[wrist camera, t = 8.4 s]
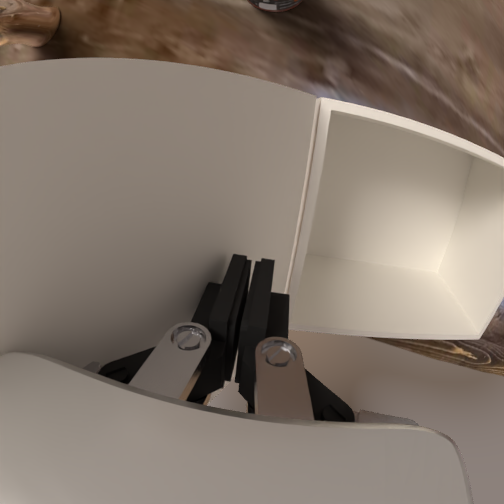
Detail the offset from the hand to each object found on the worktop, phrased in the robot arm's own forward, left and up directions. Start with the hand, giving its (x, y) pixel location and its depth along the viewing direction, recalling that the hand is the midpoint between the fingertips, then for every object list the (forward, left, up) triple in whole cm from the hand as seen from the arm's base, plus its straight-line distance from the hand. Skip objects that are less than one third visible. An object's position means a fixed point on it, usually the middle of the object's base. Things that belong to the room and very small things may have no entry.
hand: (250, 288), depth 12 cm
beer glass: (+31, -20, -19) cm, 41 cm away
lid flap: (+2, 0, +3) cm, 4 cm away
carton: (-12, 0, -19) cm, 22 cm away
